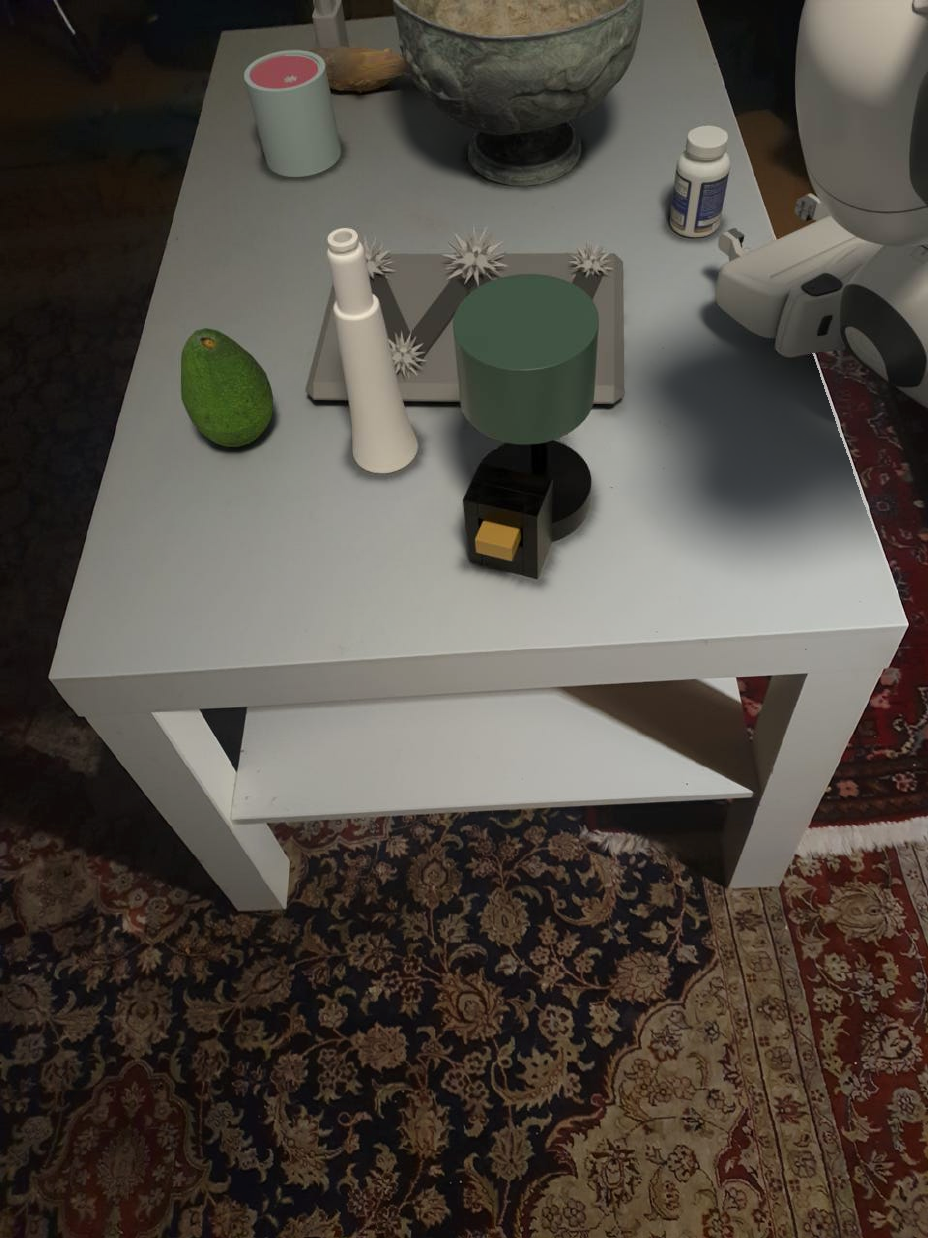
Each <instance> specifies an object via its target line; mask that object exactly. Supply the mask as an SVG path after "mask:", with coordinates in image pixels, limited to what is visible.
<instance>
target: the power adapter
mask: <svg viewBox="0 0 928 1238" xmlns="http://www.w3.org/2000/svg"><path fill="white" fill-rule="evenodd" d="M314 1H315V8H314V10H313V13H312V14H311V15H312V16H311V17H312V23H313V24H312V25H313V28H314V33H315V39H316V44H317V48H331V47H336V46H342V47H350V43H349V37H348V30H347V26H346V19H345V12H344V8H343V2H342V0H314Z"/></svg>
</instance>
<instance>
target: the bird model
mask: <svg viewBox="0 0 928 1238" xmlns="http://www.w3.org/2000/svg"><path fill="white" fill-rule="evenodd" d="M308 51H309V52H312V53H315V54H317V55H319V56H320V57H321V58H322V59H323V60H324V62H325V67H326V72H327V77H328V83H329V88H330V89H332V90H335V91H340V92H342V91H346V92H350V91H355V92H358V93H360V94H362V93H363V92H369V91H373V90H377V89H379V88H381V87H384V86H386V85H388V83H389V82H392V81H393V80H395V79H396V78H397V77H399V76H403V75H405V74H407V75H409V76H410V74H409V72H408V69H407V67H406V65H405V62H404V60H403V57H402V53H401V54H400V53H397V52H396V53H395V52H392V48H390V47H386V48H384V49H383V50H380V49H376V48H364V47H359V46H358V45H354V46H353V45H352V46H349V47H342V46H336V47H331V48H318V47H315V48H314V47H313V48H311V49H309V50H308Z"/></svg>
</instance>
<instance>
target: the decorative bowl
mask: <svg viewBox="0 0 928 1238" xmlns="http://www.w3.org/2000/svg"><path fill="white" fill-rule="evenodd" d="M392 5H393V10H394V16H395V20H396V25H397V30H398V38H399V39H398V40H399V43H398V46H399V48H400V51H401V54H402V57H403V60H404V62H405V65H406V67H407V69H408V72H409V74H410V75H409V74H408V75H409V76H410V78H411V79H412V81H413V82H414V84H415V86H416V88H417V90H418V91H419V92H420V93H421V94H422V95H423V96H424V97H425V98H427V99H428V101H430V102H431V103H432V104H433V105H434V106H435V108H437V109H438V110H440V111H441V112H442V113H443V114H445V115H446V116H447V117H449V119H451V120H453V121H455V122H456V123H459V124H460V125H463V126H465V127H467V128H470V129H473V130H475V133H473V136H472V137H471V139H470V141H469V144H468V148H467V152H468V153H467V157H468V162H469V163H470V165H471V166H472V168H473V170H475V171H476V172H477V173H479V174H480V175H481V176H483V177H485V179H487V180H490V181H493V182H496V183H500V184H503V185H509V186H521V187H528V186H535V185H543V184H546V183H548V182H551V181H554V180H556V179H558V178H560V177H562V176H564V175H566V174H568V173H569V172H570V171H572V169H573V168H574V167H575V166H576V165H577V163H578V161H579V159H580V157H581V154H582V153H581V152H582V143H581V136H580V135H579V133H578V131H577V130H576V128H574V126H572V125H571V124H570V123H569V121H571V120H573V119H577V118H579V117H581V116H583V115H585V114H587V113H589V112H590V111H592V110H594V108H596V107H597V106H599V104H600V103H601V102H602V101H603V100H604V99H605V98H606V97H607V95H608V94H609V93H610V91H611V90H612V89H613V88H614V87H615V86H617V84H618V83H619V82H620V81H622V78H623V77H624V75H625V74H626V72H627V71H628V69H629V67H630V65H631V62H632V61H633V58H634V55H635V53H636V50H637V43H638V39H639V35H640V31H641V27H642V21H643V20H642V19H643V15H644V14H643V13H644V7H645V6H644V5H645V0H392Z"/></svg>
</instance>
